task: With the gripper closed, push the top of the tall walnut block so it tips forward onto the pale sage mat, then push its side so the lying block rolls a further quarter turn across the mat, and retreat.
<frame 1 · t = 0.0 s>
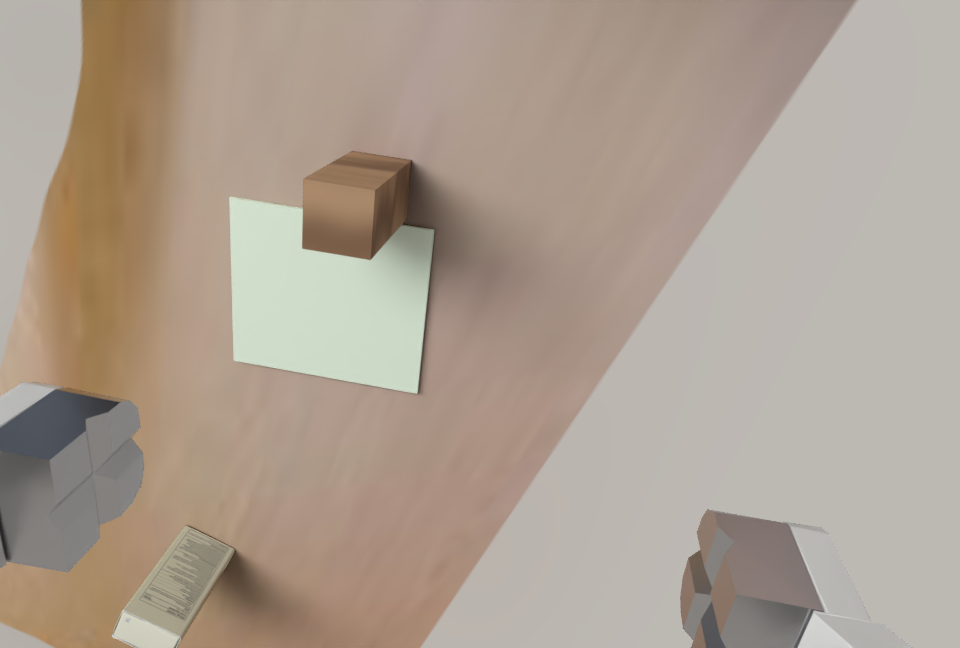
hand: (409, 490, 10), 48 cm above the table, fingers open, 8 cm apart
mat: (328, 298, 63), on the table
block: (379, 185, 58), on the table
skincare box: (207, 547, 77), on the table
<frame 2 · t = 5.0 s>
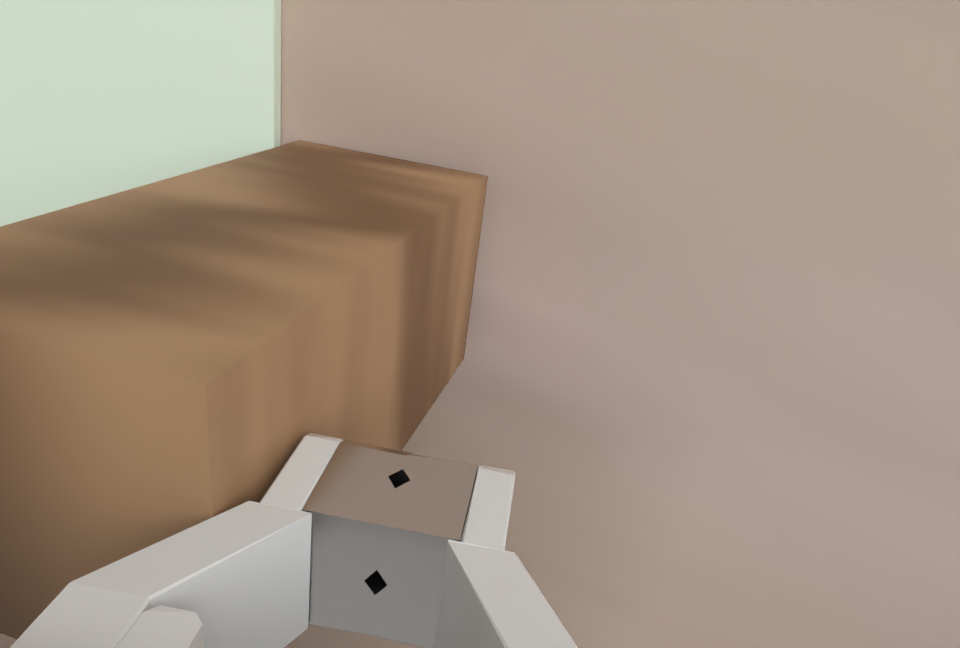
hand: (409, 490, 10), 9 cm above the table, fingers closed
block: (384, 252, 18), on the table, tilted 7°, touching gripper
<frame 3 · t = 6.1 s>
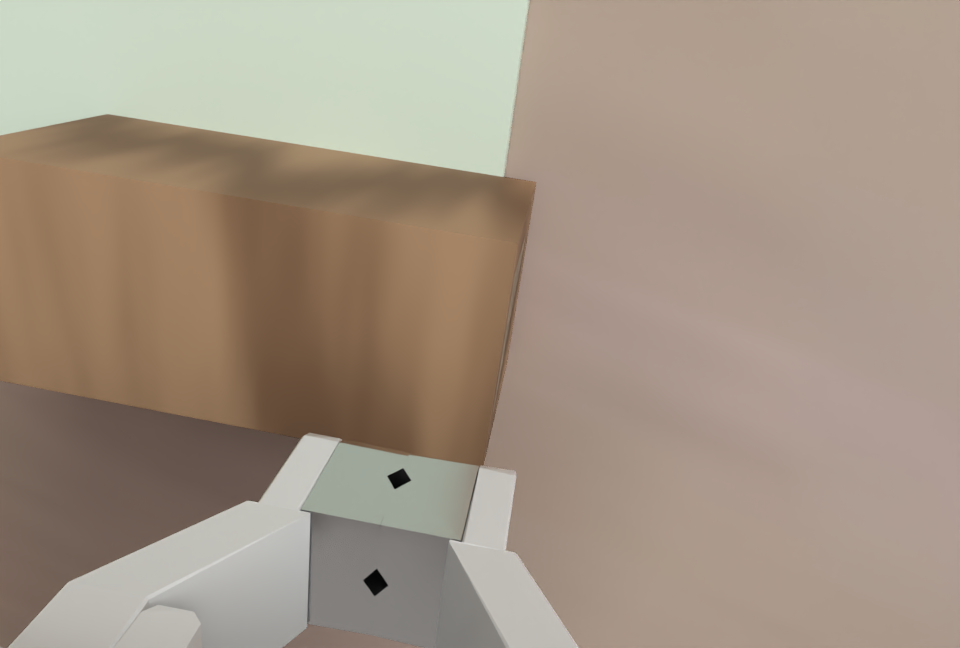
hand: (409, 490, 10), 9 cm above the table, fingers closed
mat: (194, 62, 17), on the table
block: (511, 316, 15), point 3 cm above the table, tilted 90°, touching mat
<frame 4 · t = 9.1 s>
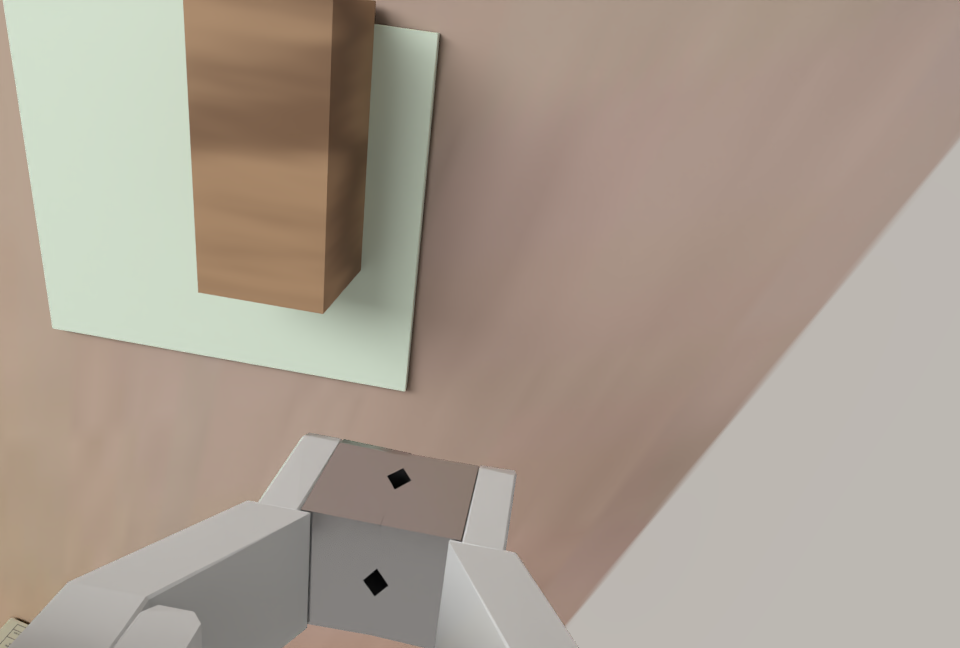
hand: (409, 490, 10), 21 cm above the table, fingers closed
mat: (224, 197, 31), on the table
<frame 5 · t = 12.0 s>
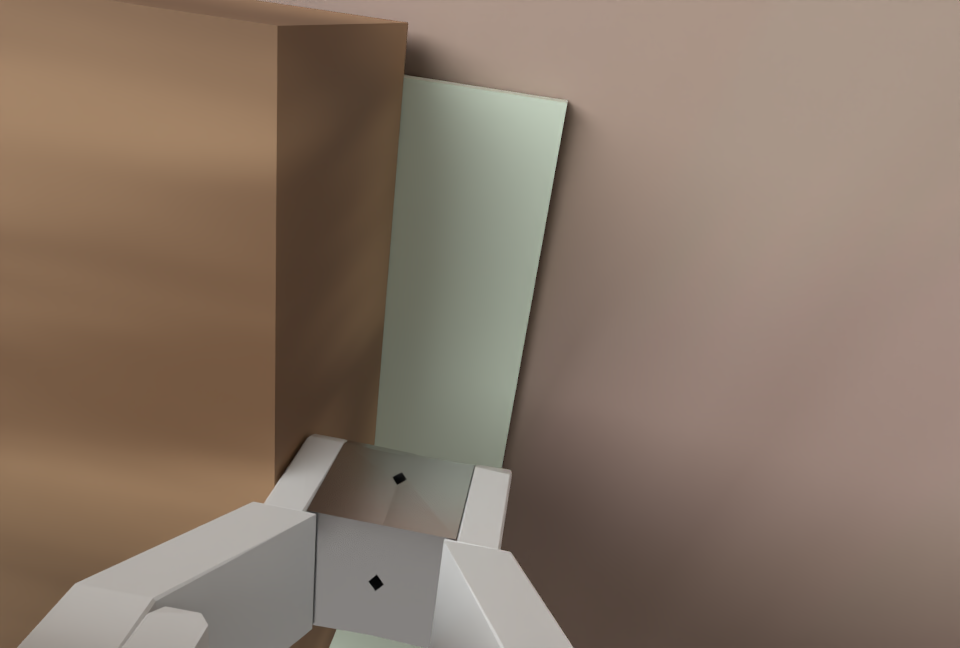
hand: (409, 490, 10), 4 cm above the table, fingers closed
mat: (95, 412, 15), on the table
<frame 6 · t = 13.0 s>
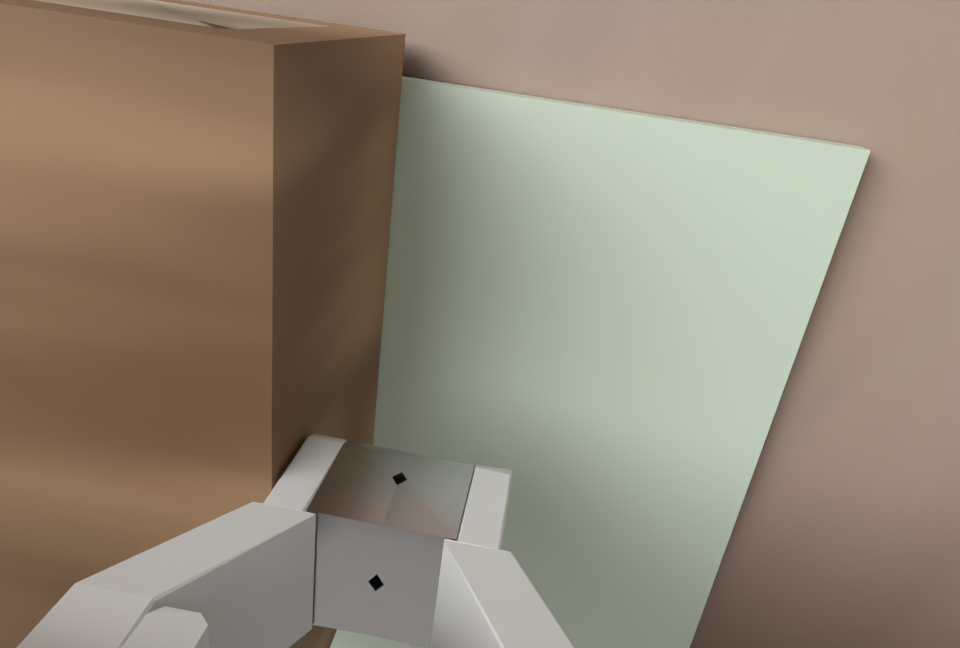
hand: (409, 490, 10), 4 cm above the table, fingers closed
mat: (302, 454, 15), on the table
block: (164, 9, 9), point 3 cm above the table, tilted 90°, touching gripper, mat
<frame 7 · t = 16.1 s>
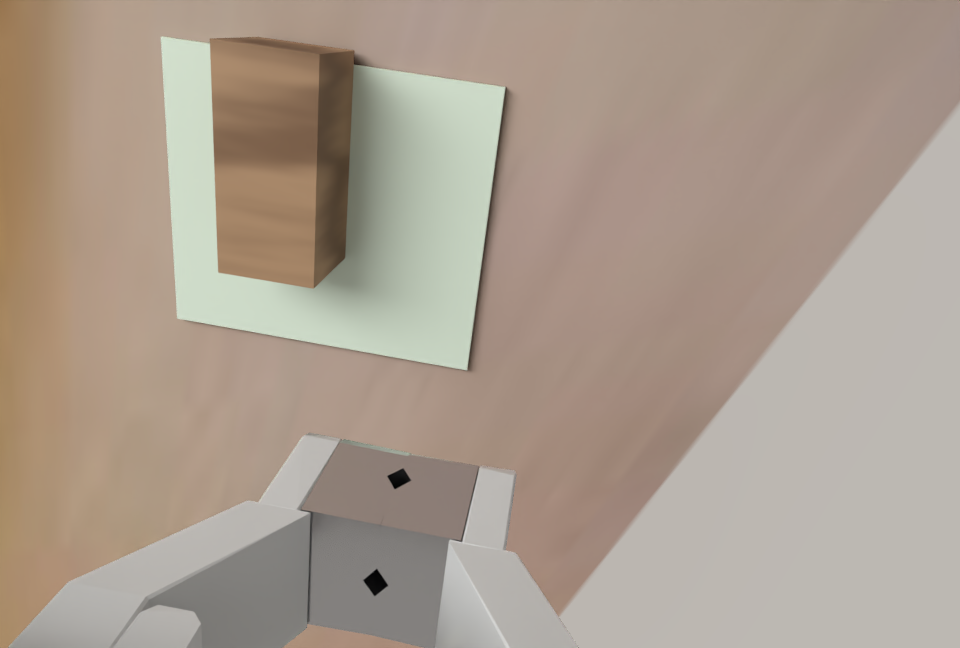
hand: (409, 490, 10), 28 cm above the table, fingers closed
mat: (326, 213, 39), on the table
block: (286, 45, 32), point 3 cm above the table, tilted 90°, touching mat
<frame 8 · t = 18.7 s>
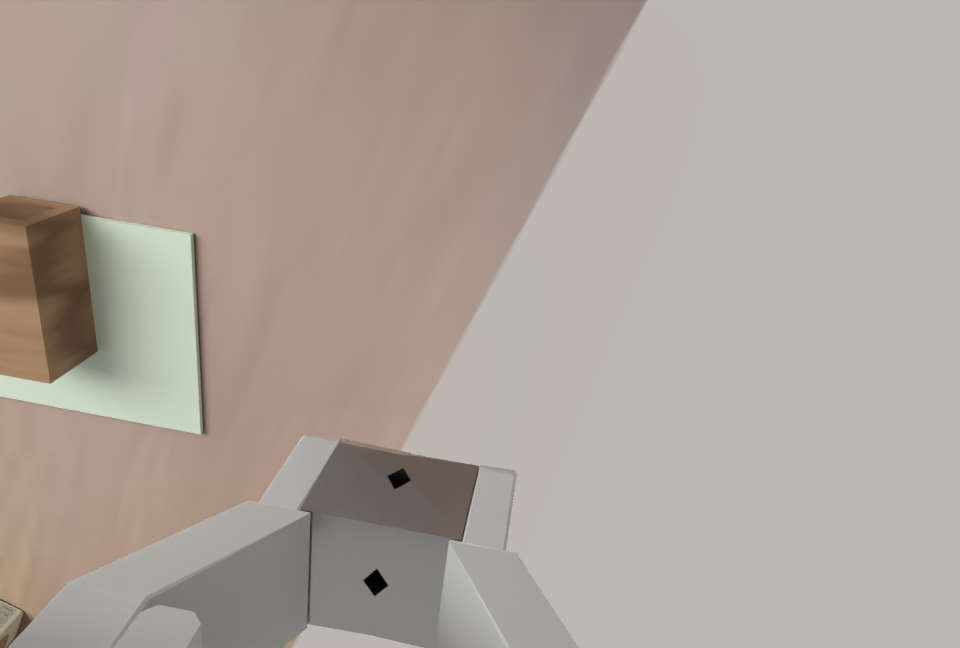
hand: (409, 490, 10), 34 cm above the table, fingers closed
mat: (81, 317, 50), on the table
block: (17, 210, 44), point 3 cm above the table, tilted 90°, touching mat
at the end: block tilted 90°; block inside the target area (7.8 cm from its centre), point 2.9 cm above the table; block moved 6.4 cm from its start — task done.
